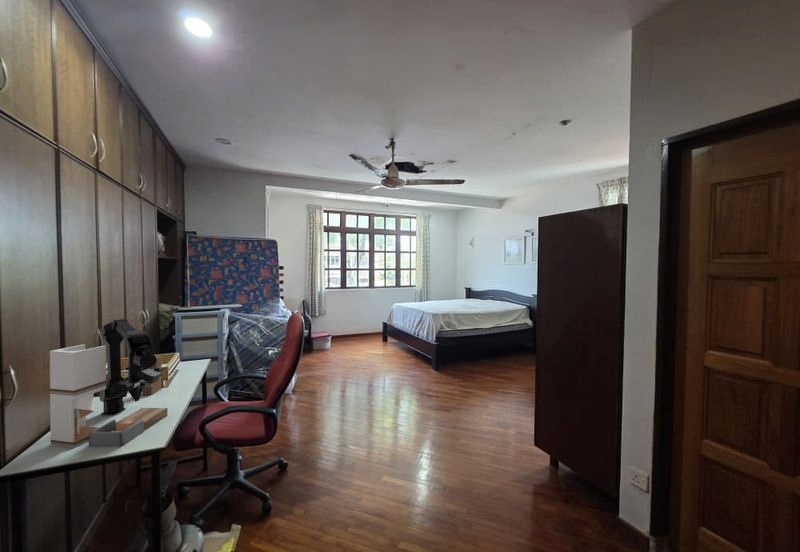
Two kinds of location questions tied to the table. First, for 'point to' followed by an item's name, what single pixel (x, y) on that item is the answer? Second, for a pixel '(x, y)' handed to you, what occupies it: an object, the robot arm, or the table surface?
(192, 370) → the table surface
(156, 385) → the wooden block
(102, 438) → the charcoal tray
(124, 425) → the terracotta tile
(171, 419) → the table surface
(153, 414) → the wooden board
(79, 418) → the white dispenser tower
